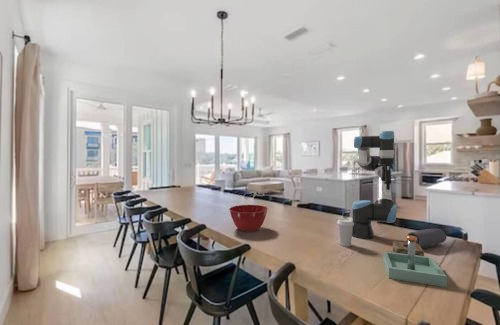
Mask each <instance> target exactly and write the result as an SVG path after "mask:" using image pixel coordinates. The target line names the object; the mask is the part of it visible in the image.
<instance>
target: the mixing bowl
mask: <svg viewBox="0 0 500 325" xmlns="http://www.w3.org/2000/svg"><path fill="white" fill-rule="evenodd" d="M228 210H229V212H230V216H231V220H232V221H233V223H234V225H235V227H236V228H237V229H238V230H239V231H241V232H248V233H249V232H255V231H258V230H259V229H260V228H261V227H262V225H263V224H264V222H265V219H266V216H267V212H268V207H267V206H264V205H260V204H240V205H235V206H231V207H230V208H229V209H228Z"/></svg>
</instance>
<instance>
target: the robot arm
mask: <svg viewBox="0 0 500 325" xmlns="http://www.w3.org/2000/svg"><path fill="white" fill-rule="evenodd" d="M395 137H396V136H395V131H394V130H383V131H380V132H379V135H367V136H366V135H362V136H361V135H360V136H354V138H353V147H354V148H355V149H357V159H356V162H357V165H358V166H359V167H360V168H361V169H363V170H365V171H369V172H374V173H375V175H376V185H377V186H376V192H377V194H376V195H377V197H376V198H377V199H376V200H375V201H374V202H372V200H370V199H369V200H366V199H364V200H361V199H360V200H354V202H353V203H352V208H351V209H352V219H351V220H352V221H353V223H354V225H353V230H352V237H354V238H357V239H358V238H359V239H373V238H374V237H375V232H374V230H373V226H372V222H379V223H380V222H381V223H391V224H392V223H394V224H395V222H396V220H397V212H398V205H397V204H395V201H394V200H392V199H393V198H392V175H393V173H394V172H395V171H396V170H395V169H396V168H395V166H396V165H395V158H394V157H395V156H394V155H395V154H396V151H395ZM371 149H379V152H378V155H370V153H371V151H370V150H371Z"/></svg>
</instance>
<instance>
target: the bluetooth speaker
mask: <svg viewBox="0 0 500 325" xmlns="http://www.w3.org/2000/svg"><path fill="white" fill-rule="evenodd" d="M408 235H410V236H415V237H417V241H416V244H419V246H420V247H421V248H422V249H426V248H432V247H434V246H435V245H438V244H442V243H444V242H446V241H447V234H446V232H445V230H443V229H441V228H439V227H438V228H426V229H419V230H415V231H412V232H409V233H407V235H406V237H407V236H408ZM406 241H407V242H408V239H407V238H406Z"/></svg>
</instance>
